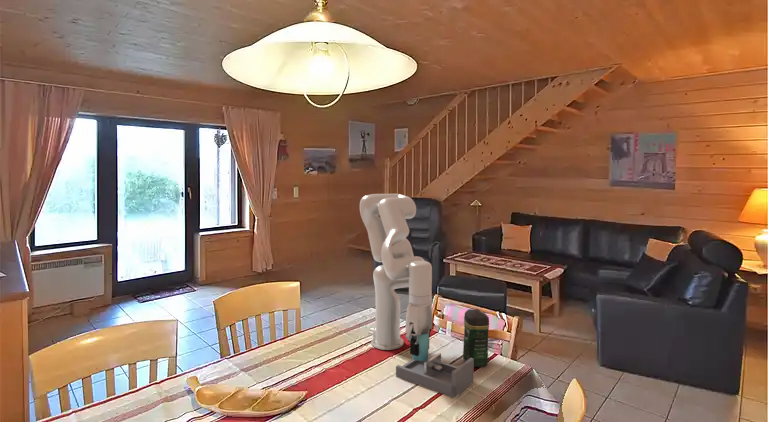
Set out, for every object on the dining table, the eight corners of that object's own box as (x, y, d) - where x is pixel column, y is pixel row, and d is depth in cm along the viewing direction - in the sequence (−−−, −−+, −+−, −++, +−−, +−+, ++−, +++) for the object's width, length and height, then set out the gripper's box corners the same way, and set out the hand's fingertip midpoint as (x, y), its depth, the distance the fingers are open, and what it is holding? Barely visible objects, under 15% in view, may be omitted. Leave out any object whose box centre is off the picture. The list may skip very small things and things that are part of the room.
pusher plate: (424, 379, 142) (424, 362, 141) (438, 369, 149) (439, 352, 148) (434, 383, 139) (434, 366, 139) (448, 372, 147) (449, 356, 146)
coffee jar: (490, 367, 153) (492, 316, 151) (468, 368, 152) (470, 316, 150) (481, 355, 163) (482, 306, 161) (460, 356, 162) (461, 307, 160)
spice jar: (407, 357, 147) (407, 328, 146) (417, 351, 151) (417, 323, 150) (422, 362, 143) (423, 332, 142) (432, 356, 148) (432, 326, 147)
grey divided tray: (395, 376, 147) (396, 353, 146) (416, 363, 156) (416, 341, 155) (454, 398, 133) (455, 373, 132) (473, 382, 143) (473, 358, 142)
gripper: (424, 291, 154) (424, 341, 156) (395, 302, 141) (395, 357, 143) (443, 294, 150) (442, 346, 152) (415, 307, 136) (414, 363, 138)
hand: (419, 351), depth 147 cm, fingers closed on spice jar, 5 cm apart
